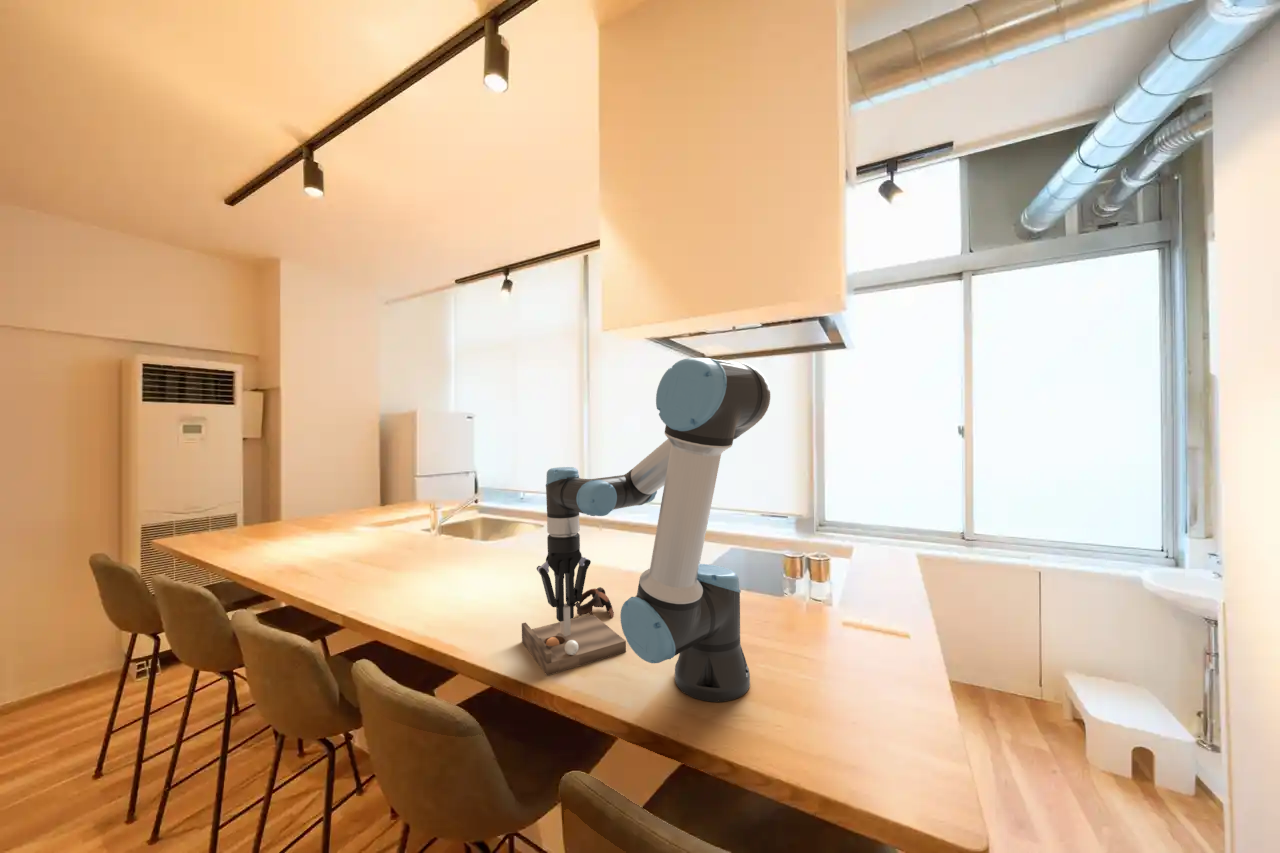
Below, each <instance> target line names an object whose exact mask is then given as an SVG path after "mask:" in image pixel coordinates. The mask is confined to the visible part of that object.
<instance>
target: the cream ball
mask: <svg viewBox="0 0 1280 853" xmlns="http://www.w3.org/2000/svg"><path fill="white" fill-rule="evenodd" d="M577 651H578V643H577V642H576V641H575V640H569V641H568V642H567V643H566V644H565V652H566V653H567V654H569V655H574V654H575V653H576V652H577Z"/></svg>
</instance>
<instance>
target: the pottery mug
mask: <svg viewBox="0 0 1280 853" xmlns="http://www.w3.org/2000/svg"><path fill="white" fill-rule="evenodd" d="M589 597H592V599H591V600H589V601H588V602H587V603H583V602H584V601H585V600H586V599H587V598H589ZM575 604H576V605H575V607H576V614H577V615H578V616H579V617H582V616H586V615H590V614H593V615H594V613H593V607H594V608H604V607H605V610H606V612H608V615H609V618H610V619H613V618H614V615H615V613H614V609H613V605H612V603H611V601H610V598H609V597H608V596H607V595H606V591H605V589H604V588H603V587H601V586H600V587H597V588H591V589H588V590H586V591H585V592H583V593H582V598H581V601H579V602H578V601H577V602H576V603H575Z"/></svg>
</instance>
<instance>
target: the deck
mask: <svg viewBox="0 0 1280 853" xmlns="http://www.w3.org/2000/svg"><path fill="white" fill-rule="evenodd" d="M570 625H571V635H568V636H564V635H563V634H562V633H561V632H560V622H559V621H558V622H556V623H551V624H547V625H542V626H539V627H534V628H531V627H530V626H529V625H528V623H527V622H523V623H521V642H522V643H523V646H524V647H525V648H526V649H527V650H528V652H529V653H530V654H531V656H532V657H533V659H534V660H535V662H536V663H537V664H538V666H539V667H540V668H541V669H542V671H543V672H544V673H545V675H546V676H547V677H548V676H550V675H554V674H558V673H561V672H564V671H568V670H571V669H573V668H577V667H580V666H583V665H587V664H590V663H593V662H597V661H599V660H603V659H607V658H610V657H614V656H615V655H619V654H623V653H626V652H627V640H625V639H624V638H623V637H622V636H621V635H619V634H618V633H617V632H615V630H613V629H612V628H611V627H610V626H609V625H607V624H606V623H605V622H603V621H602V620H601V619H600V618H598V617H597V616H596V615H595V614H594V613H593V614H590V613H589V614H585V615H581V616H579V617H576V618H574V617H573V618H572V619H570ZM551 637H555V638H557V639H558V640H559V644H560V645H556V646H547V645H546V642H547V640H548V639H549V638H551ZM569 640H575V641H576V642H577V643H578V651H577V652H576V653H575V654H574V655H569V654H567V653H566V652H565V644H566V643H567V642H568V641H569Z"/></svg>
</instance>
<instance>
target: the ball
mask: <svg viewBox="0 0 1280 853" xmlns="http://www.w3.org/2000/svg"><path fill="white" fill-rule="evenodd" d="M546 645H547V646H556V645H560V644H559V640H558V639H557V638H555V637H551V638H549V639H548V640H547V642H546Z"/></svg>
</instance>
